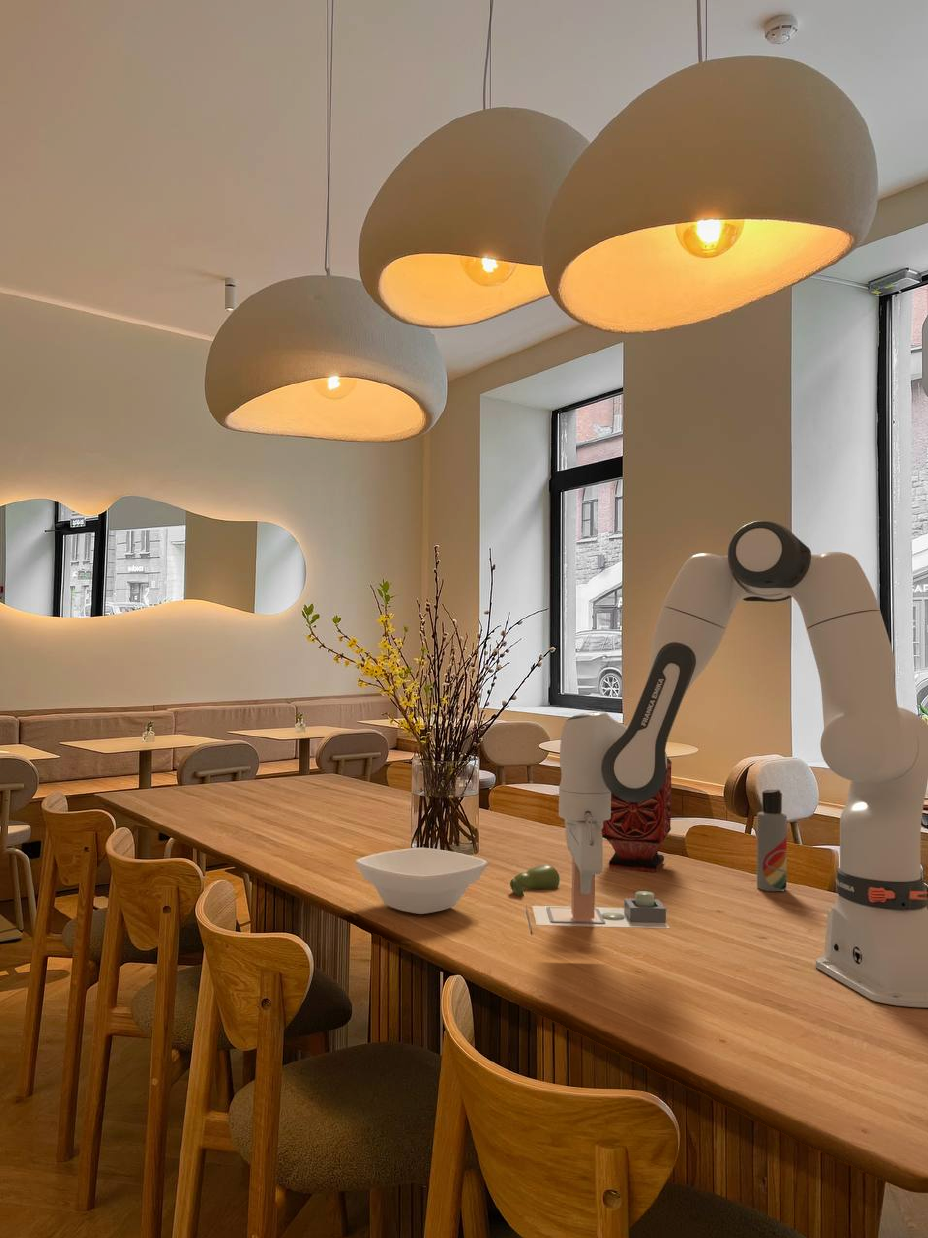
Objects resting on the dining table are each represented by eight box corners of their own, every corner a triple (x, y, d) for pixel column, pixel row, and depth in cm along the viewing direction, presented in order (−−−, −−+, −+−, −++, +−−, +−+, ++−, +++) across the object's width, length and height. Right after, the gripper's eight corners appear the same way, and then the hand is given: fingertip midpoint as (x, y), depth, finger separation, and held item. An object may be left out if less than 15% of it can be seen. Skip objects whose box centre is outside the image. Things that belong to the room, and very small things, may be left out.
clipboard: (676, 937, 150) (676, 928, 150) (531, 933, 150) (531, 925, 150) (659, 914, 164) (659, 906, 164) (525, 910, 164) (526, 902, 164)
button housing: (665, 922, 154) (665, 908, 154) (630, 921, 154) (630, 907, 154) (658, 913, 160) (658, 899, 160) (624, 912, 160) (624, 898, 160)
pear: (562, 865, 177) (515, 877, 173) (566, 892, 177) (519, 904, 173) (549, 859, 182) (504, 870, 179) (553, 885, 182) (507, 897, 179)
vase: (599, 868, 200) (601, 731, 201) (610, 856, 213) (612, 727, 214) (664, 874, 195) (665, 734, 197) (671, 862, 208) (672, 730, 210)
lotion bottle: (788, 893, 181) (788, 792, 182) (758, 891, 183) (759, 790, 184) (784, 886, 187) (784, 788, 188) (755, 884, 188) (755, 787, 189)
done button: (655, 910, 156) (656, 896, 156) (637, 909, 156) (637, 895, 156) (652, 905, 159) (652, 891, 159) (633, 904, 159) (633, 890, 159)
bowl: (501, 909, 165) (502, 861, 166) (421, 932, 150) (422, 879, 150) (420, 888, 179) (421, 844, 179) (339, 908, 164) (340, 859, 164)
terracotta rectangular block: (594, 918, 153) (595, 849, 153) (573, 917, 153) (574, 848, 153) (591, 912, 156) (592, 844, 157) (571, 912, 156) (572, 844, 157)
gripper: (612, 818, 145) (611, 906, 144) (595, 798, 165) (594, 876, 165) (573, 817, 145) (571, 905, 144) (560, 798, 166) (559, 875, 165)
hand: (583, 889), depth 155 cm, fingers closed on terracotta rectangular block, 3 cm apart
